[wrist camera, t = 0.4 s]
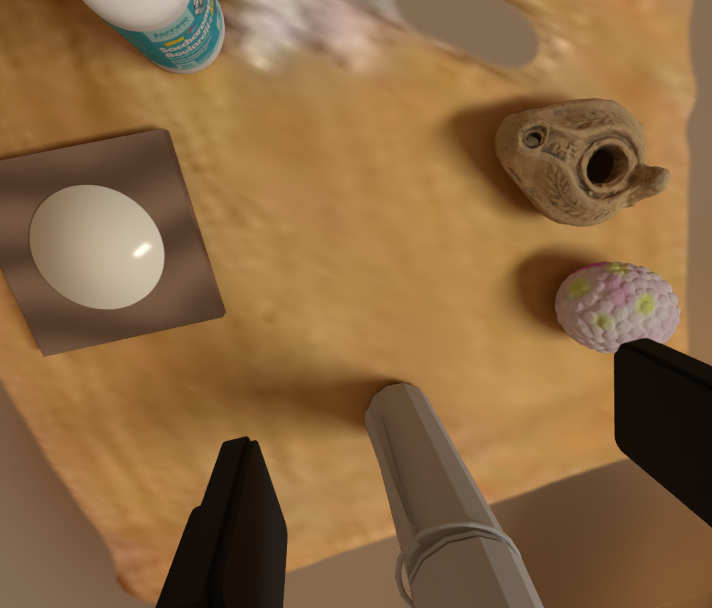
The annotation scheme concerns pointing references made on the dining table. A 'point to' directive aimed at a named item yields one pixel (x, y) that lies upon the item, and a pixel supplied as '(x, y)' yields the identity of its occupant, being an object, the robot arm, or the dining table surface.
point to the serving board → (103, 243)
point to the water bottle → (441, 512)
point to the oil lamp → (578, 160)
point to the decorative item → (616, 306)
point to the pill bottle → (168, 30)
